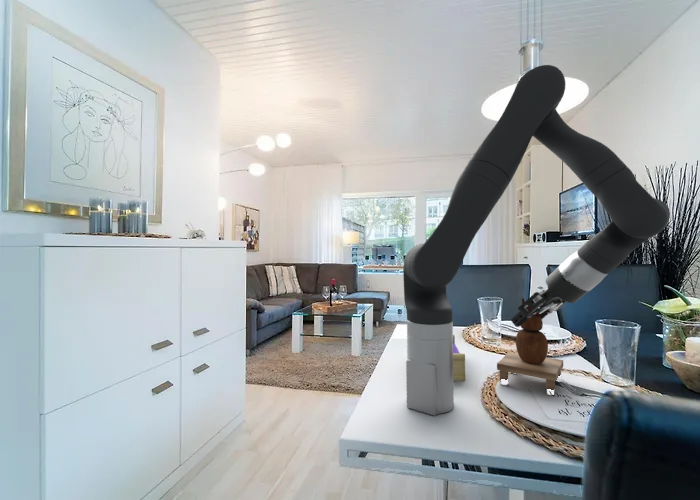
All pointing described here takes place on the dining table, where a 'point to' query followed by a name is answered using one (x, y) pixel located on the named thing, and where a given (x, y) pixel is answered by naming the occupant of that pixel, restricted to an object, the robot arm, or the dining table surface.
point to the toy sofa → (458, 363)
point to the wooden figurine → (532, 340)
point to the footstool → (531, 368)
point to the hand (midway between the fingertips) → (524, 321)
